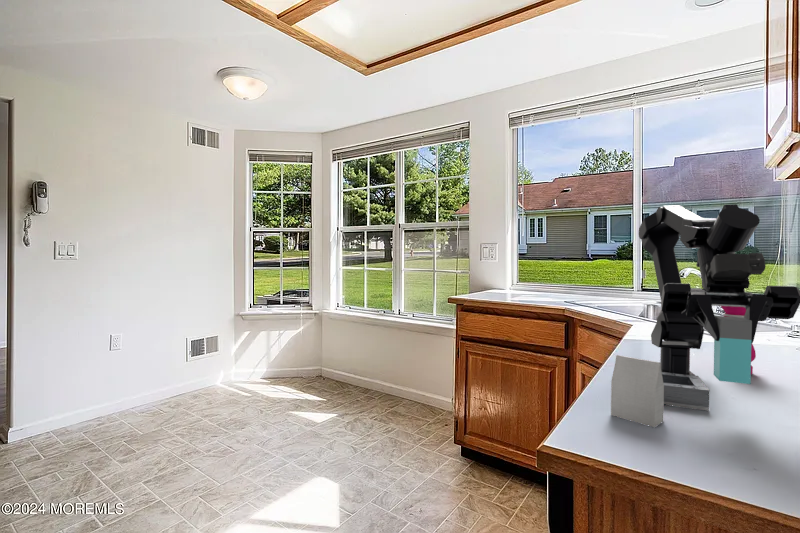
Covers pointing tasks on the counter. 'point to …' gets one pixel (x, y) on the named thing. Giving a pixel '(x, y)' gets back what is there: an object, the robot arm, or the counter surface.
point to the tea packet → (637, 390)
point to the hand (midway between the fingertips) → (734, 340)
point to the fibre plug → (733, 350)
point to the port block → (685, 391)
